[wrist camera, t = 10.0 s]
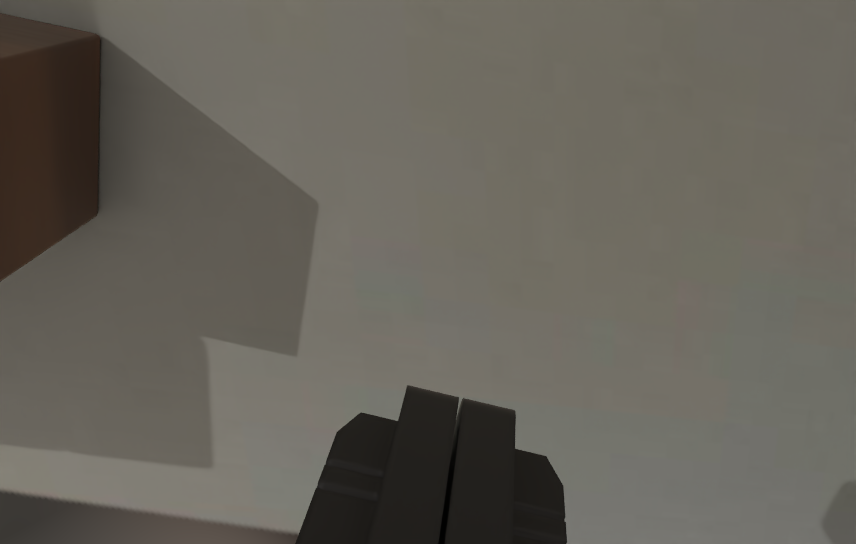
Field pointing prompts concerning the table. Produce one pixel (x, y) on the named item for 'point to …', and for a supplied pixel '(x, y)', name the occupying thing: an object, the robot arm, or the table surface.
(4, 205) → the walnut block
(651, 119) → the table surface
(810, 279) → the table surface
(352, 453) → the robot arm
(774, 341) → the table surface
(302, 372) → the table surface
